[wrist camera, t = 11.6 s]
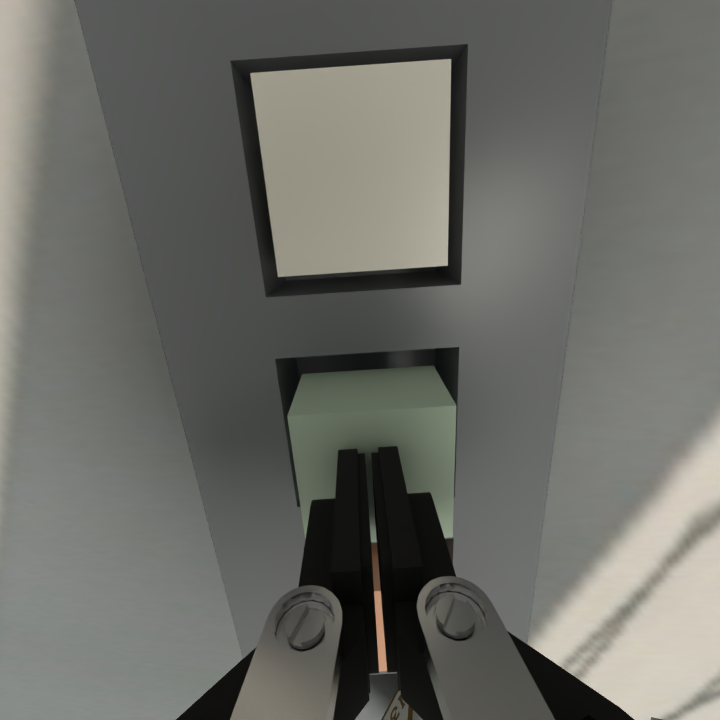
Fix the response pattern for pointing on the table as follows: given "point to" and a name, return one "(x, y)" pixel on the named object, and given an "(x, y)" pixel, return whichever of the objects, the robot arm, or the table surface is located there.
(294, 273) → the ivory key
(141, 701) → the table surface
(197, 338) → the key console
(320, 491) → the sage key
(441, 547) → the robot arm
